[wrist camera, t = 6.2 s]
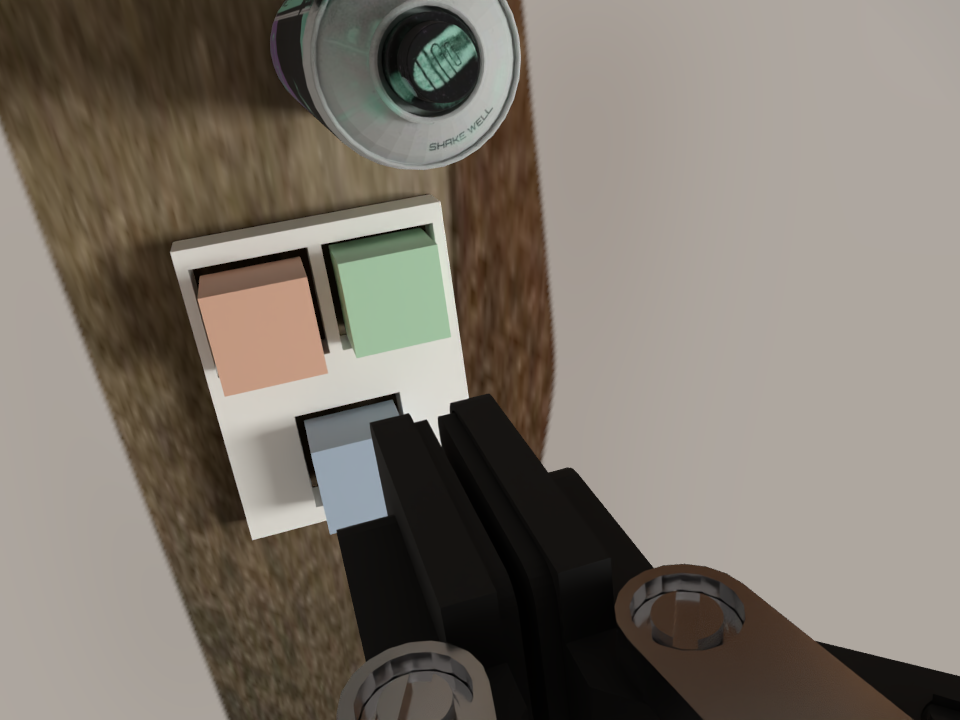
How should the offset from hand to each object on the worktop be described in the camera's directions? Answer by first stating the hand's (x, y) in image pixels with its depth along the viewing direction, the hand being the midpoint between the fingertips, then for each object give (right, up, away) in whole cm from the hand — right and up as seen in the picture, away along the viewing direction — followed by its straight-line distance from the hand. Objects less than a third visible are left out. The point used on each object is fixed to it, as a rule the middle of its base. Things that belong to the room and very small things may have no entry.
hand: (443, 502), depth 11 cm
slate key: (-6, -2, +30) cm, 30 cm away
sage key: (-4, +6, +28) cm, 29 cm away
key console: (-7, +2, +30) cm, 31 cm away
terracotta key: (-9, +4, +26) cm, 28 cm away
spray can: (-6, +16, +25) cm, 30 cm away
